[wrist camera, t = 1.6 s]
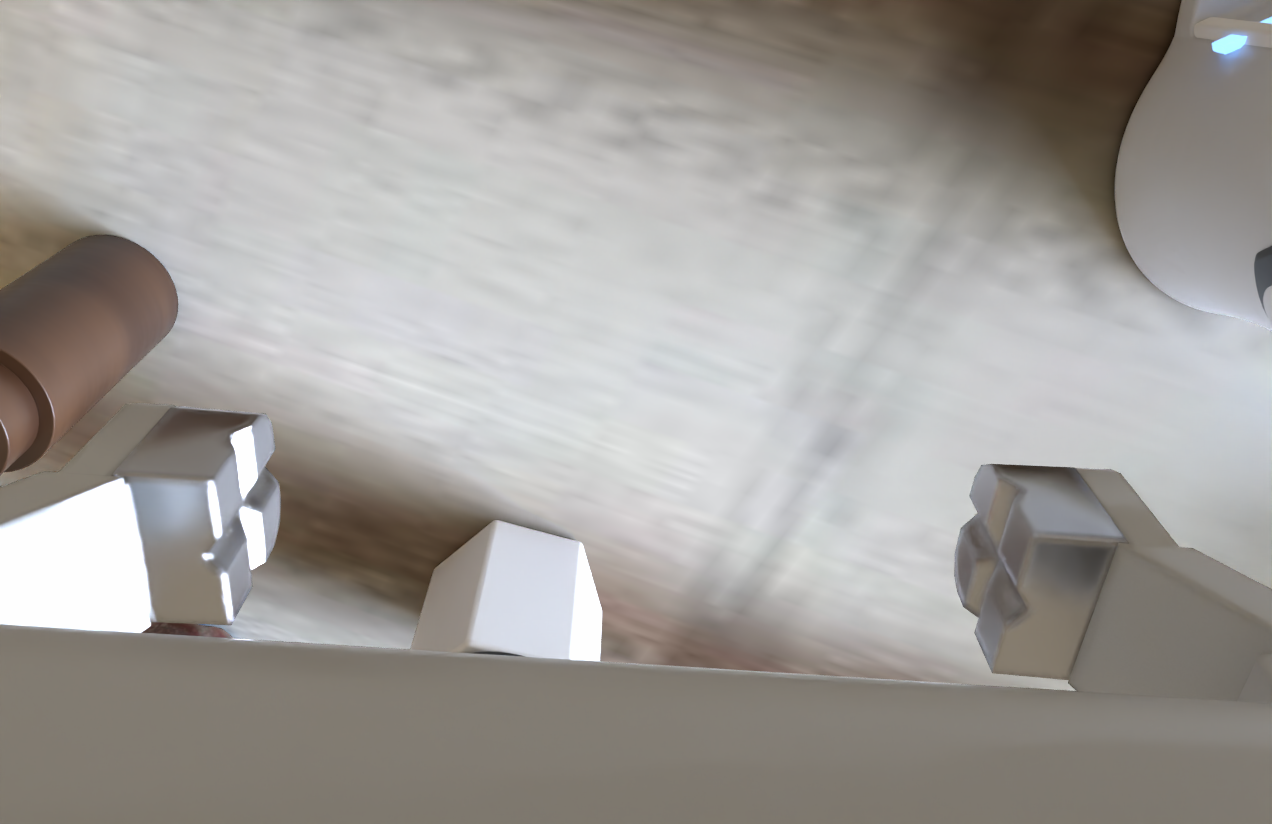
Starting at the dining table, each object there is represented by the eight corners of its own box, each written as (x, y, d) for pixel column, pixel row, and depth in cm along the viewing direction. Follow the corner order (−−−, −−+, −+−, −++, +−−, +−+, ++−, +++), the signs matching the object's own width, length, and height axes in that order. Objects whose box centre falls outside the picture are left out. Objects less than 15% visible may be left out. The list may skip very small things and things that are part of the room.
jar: (416, 532, 51) (358, 703, 41) (574, 503, 51) (556, 669, 40) (467, 666, 56) (427, 854, 45) (614, 642, 55) (608, 827, 44)
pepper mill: (113, 210, 44) (-108, 351, 31) (203, 308, 46) (33, 478, 33) (27, 278, 45) (-217, 438, 32) (120, 369, 47) (-75, 555, 34)
